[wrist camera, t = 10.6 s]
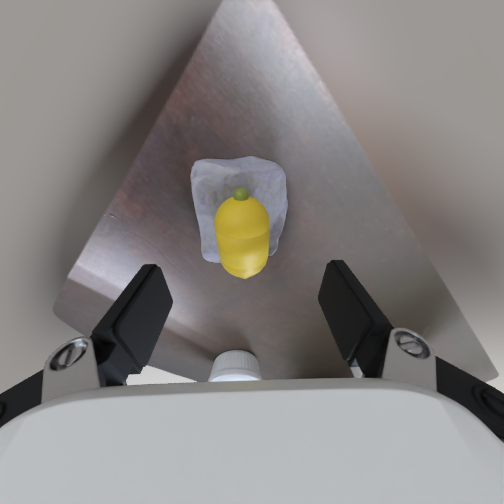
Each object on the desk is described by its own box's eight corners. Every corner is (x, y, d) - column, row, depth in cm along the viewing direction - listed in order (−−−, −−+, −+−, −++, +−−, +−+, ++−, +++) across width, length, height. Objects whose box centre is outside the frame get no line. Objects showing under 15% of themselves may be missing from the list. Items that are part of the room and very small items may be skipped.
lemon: (213, 179, 16) (203, 200, 12) (268, 178, 16) (276, 199, 12) (224, 262, 22) (220, 294, 18) (264, 261, 22) (269, 293, 18)
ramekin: (256, 372, 45) (257, 398, 40) (210, 370, 43) (206, 397, 39) (265, 347, 39) (267, 375, 34) (212, 344, 37) (208, 372, 33)
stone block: (280, 153, 20) (187, 155, 18) (298, 160, 16) (184, 163, 15) (272, 243, 27) (204, 251, 25) (284, 262, 23) (204, 273, 21)
